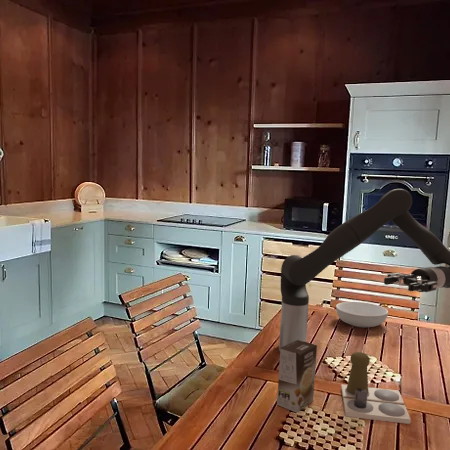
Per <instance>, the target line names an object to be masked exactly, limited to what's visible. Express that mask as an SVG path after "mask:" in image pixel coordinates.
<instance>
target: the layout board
mask: <svg viewBox="0 0 450 450" xmlns="http://www.w3.org/2000/svg"><path fill="white" fill-rule="evenodd" d="M347 385H348V384H342V383H341V386H340V387H341V394H342V402H343V408H344V415H345V417H349V418H357V419H363V420H364V419H365V420H375V421H382V422H391V423H399V424H406V425H411V422H412V421H411V420H412V419H411V416H410V415H409V412H408V410H407V407H406V404H405V401H404V400H403V396H402V395H401V393H400V390H396V389H390V388H389V389H388V388H387V389H386V388H379V387H369V386H368V394H367V407H366V408H363V409H362V408H357V407H355V406H354V398H355V395H353V394H350V393H349V392H348V391H347V390H346V389H347Z"/></svg>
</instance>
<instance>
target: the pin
mask: <svg viewBox="0 0 450 450" xmlns="http://www.w3.org/2000/svg"><path fill="white" fill-rule="evenodd" d="M367 394H368V392H367V391H366V390H365V389H361V388H358V389H355V398H354V406H355V407H357V408H362V409H363V408H366V407H367Z"/></svg>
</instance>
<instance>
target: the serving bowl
mask: <svg viewBox="0 0 450 450" xmlns="http://www.w3.org/2000/svg"><path fill="white" fill-rule="evenodd" d="M335 310H336V314H337V316H338V318H339V319H340V320H341V321H343V322H344V323H346V324H347V325H351V326H354V327H357V328H371V327H372V328H373V327H378V326H379V325H382V324H383V323H384V322H385V321H386V319H387V318H388V315H389V311H388V309H387V308H385V307H383V306H381V305H379V304H378V305H377V304H376V303H375V304H374V303H369V302H363V301H344V302H339V303H337V304H336V305H335Z"/></svg>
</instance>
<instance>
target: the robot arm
mask: <svg viewBox="0 0 450 450" xmlns="http://www.w3.org/2000/svg"><path fill="white" fill-rule="evenodd" d="M412 205H413V197H412V195H411V193H410V192H409V191H408V190H406V189H403V188H396V189H392V190H390V191H388V192H386V193H385V194H384V195H382V197H380V199H379V201H378V202H376V203H375V204H374V205H373V206H371V207H370V208H368V209H366V210H364V211H362V212H360V213H359V214H357V215H355V216H353V217H351V218H349V219H348V220H346V221H345V222H343V223H342V224H340V225H339V226H337V227H335V228H334V229H332V231H330V232H329V234H328V235H327V236H326V237H325V239H324V240H323V242H322V243H321V244H320V245H319V246H318V247H317V248H316V249H314V250H313V251H312V252H310V253H308V254H306V255H305V256H303V257H302V256H301V255H295V254H293V255H288V256H287V257H286V258H285V259H284V260H283V262H282V263H281V268H280V293H281V311H280V312H281V313H280V324H279V339H278V340H279V341H278V342H279V343H278V345H279V346H278V352H280V348H281V347H283V346H286V345H288V344H290V343H292V342H294V341H297V340H300V341H303V342H307V337H308V336H307V335H308V320H309V319H308V318H309V303H310V302H309V301H310V297H309V292H308V291H307V285H306V284H308V283H310V282H311V281H312V280H314V279H315V278H316V277H317V276H318V275H319V274H320V273H322V272H323V271H324V270H325V269H327V268H328V267H329V266H330V265H332V264H333V263H335V262H336V261H338V260H339V259H341V258H343V257H344V256H345V255H346V254H348V253H350V252H352V251H353V250H354V249H355V248H357V247H358V246H360V245H361V244H363V242H365V241H367V239H369V238H370V237H371V236H372V235H374V234H375V233H376V232H377V231H378V230H380V228H382V227H383V226H384V225H386V224H388V223H389V222H392V223H393V224H394V225H395V226H397V227H398V228H399V230H401V231H402V232H403V233H404V234H405V235H406V236H407V237H408V238H409V239H410V240H411V241H412V242H413V243H414V245H415V246H416V247H418V249H419V250H420V251H421V252H422V254H423V255H424V256H425V257H426V258H427V260H428V261H429V262H430V263H431V264H432V265H433V266H426V267H422V268H415V269H414V270H413V271H412V272H411V273H407V274H402V273H401V272H394V273H387V276H386V277H384V278H383V283H384V285H386V286H388V285H393V284H394V285H398V286H400V287H403V286H404V287H407V288H408V289H407V290H408V292H419V293H429V292H432V291H436V290H438V289H441V288H445V289H450V250H449V249H448V248H447V247H446V246H445V244H444V243H443V242H442V241H441V240H440V239H439V237H437V236H436V234H434V233H433V232H431V231H430V230H429V229H427V228H426V227H425V226H424V225H422V224H421V223H419V221H417V220H416V219H415V218H414V217H413V215H411V213H410V211H409V210H410V209H411V207H412ZM442 264H445V265H447V266H443V265H442ZM437 265H441V266H437ZM402 281H403V282H402Z"/></svg>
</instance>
